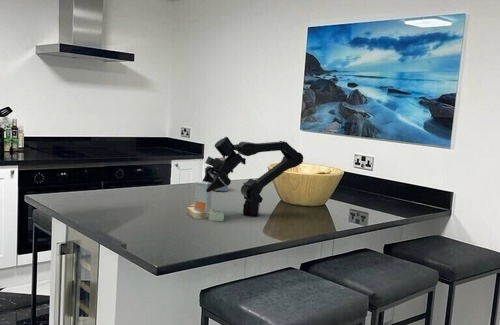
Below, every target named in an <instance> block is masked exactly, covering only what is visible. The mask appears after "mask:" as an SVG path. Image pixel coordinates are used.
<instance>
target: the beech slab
mask: <svg viewBox="0 0 500 325" xmlns="http://www.w3.org/2000/svg"><path fill="white" fill-rule="evenodd" d="M209 212H217V211H216V210H214V209H213V208H211V210H209V211H206V212H205V211H201V210H196V209H194V207H190V206H189V207H186V214H188V215H189V216H190V217H191V218H192V219H194V220H197V219H198V220H199V219H202V220H203V219H204V220H205V219H208V215H209Z"/></svg>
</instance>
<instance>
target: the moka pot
mask: <svg viewBox="0 0 500 325" xmlns="http://www.w3.org/2000/svg"><path fill="white" fill-rule="evenodd" d="M217 158H218V159H220V160H223V161H224V160H225V159H226V158H227V157H226V156H222V157H217ZM227 176H228V177H229V174H228V175H227ZM228 187H229V185H228V186H226V185H225V187H221V188H218V189H215V190H214V191H215V192H224V193H225V192H228V191H229V190H228V189H229V188H228Z"/></svg>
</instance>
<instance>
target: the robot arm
mask: <svg viewBox="0 0 500 325" xmlns="http://www.w3.org/2000/svg"><path fill="white" fill-rule="evenodd" d="M214 148H215V149H216V150H217V151H218V153H219V154H220V155H221V156H222V157H223V156H225V158H226V159H225V160H224V161H223V160H220V159H218V158H219V157H214V158H213V157H212V156H208V157H207V158H206V160H205V163H204V164H206V165H207V166H206V167H205V168H204V177H203V178H202V180H201V181H204V182H210V183H211V185H210V186H209V187H208V188H207V190H206V191H207V192H210V191H212V192H213V191H215V189H218V188H221V187H225V185H226V186H228V187H229V185H231V182H232V180H231V178H229V175H230V173H232V174H233V173H234V169H235V168H237V166H238V165H240V164H242V165H246V164H247V163H246V161H247V160H246V159H247V158H245V157H251V156H254V155H257V154H259V153H266V152H267V153H268V152H277V151H280V152H281V153H282V155H283V157H282V159H281V161H280V162H279V163H277V164H276V165H274V166H273V167H272V168H270V169H269V170H268V171H266V172H264V173H263V174H262V175H261V176H259V177H258V178H257V179H253V178H249V179H248V180H247V181H245V182H243V183H242V184H243V185H242V186H241V188H240V193H241V195H242V196H243V199H244V203H243V209H242V213H243V216H250V217H258V216H260V206H261V203H262V202H263V197H262V196H261V195H260V194H261V193H262V191H263V190H264V188H265V187H266V186H267V185H269V184H271V182H273V181H274V180H275V179H277V178H278V177H280V176H281V175H282V174H283V173H285V172H286V171H287V170H289V169H293V168H297V167H298V166H300V165H301V164H302V163H303V162H304V156H303V154H302V153H301V152H298V151H297V150H296V149H295V148H294V147H292V146H291V145H290V144H289V143H288V142H287V141H284V140H279V141H272V142H271V141H270V142H269V141H267V142H249V141H240V142H239V143H237V144H234V143H232V141H231V140H230V138H229V137H228V136H224V137H223V138H221V139H219V140H218V141H217V142H216V143H215V144H214ZM243 156H244V157H243ZM227 175H228V176H227Z"/></svg>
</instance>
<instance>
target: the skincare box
mask: <svg viewBox="0 0 500 325" xmlns="http://www.w3.org/2000/svg"><path fill="white" fill-rule="evenodd" d="M210 185H211V183H210V182H204V181H202V180H199V181H196V182H195V194H194V202H193V204H194V209H196V210H201V211H205V212H206V211H209V210H211V209H212V195H213V191H210V192H207V191H206V190H207V188H208V187H209V186H210Z"/></svg>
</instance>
